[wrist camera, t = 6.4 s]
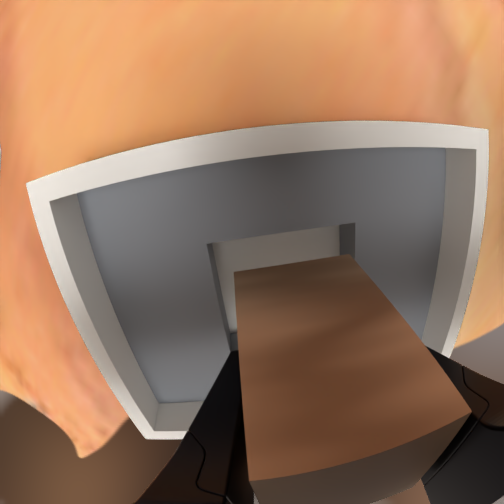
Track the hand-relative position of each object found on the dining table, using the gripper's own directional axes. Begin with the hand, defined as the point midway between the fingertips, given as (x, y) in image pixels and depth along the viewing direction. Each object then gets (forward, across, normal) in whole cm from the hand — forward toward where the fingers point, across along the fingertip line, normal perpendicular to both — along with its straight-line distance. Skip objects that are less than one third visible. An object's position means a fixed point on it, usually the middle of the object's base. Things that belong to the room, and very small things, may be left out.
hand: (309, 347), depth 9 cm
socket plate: (+6, 0, 0) cm, 6 cm away
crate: (+6, 0, 0) cm, 6 cm away
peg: (+2, 0, 0) cm, 2 cm away
